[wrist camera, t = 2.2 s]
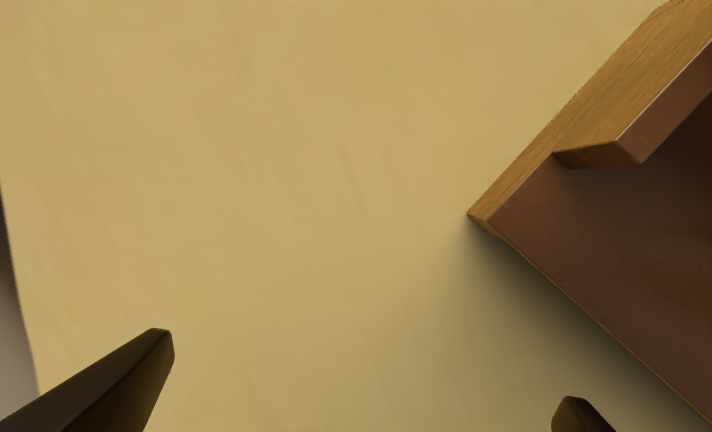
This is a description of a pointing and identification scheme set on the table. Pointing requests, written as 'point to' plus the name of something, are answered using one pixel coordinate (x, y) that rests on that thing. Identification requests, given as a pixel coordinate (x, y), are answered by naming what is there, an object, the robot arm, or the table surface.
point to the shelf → (629, 198)
